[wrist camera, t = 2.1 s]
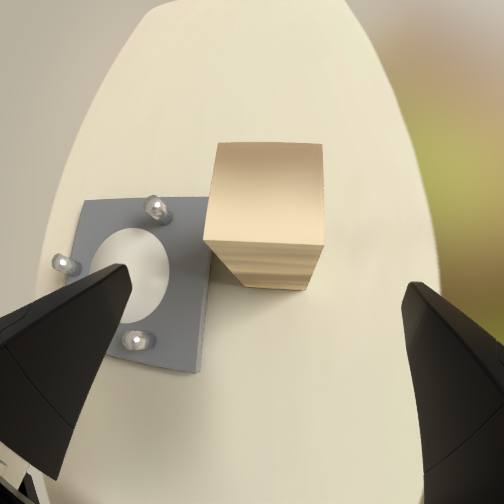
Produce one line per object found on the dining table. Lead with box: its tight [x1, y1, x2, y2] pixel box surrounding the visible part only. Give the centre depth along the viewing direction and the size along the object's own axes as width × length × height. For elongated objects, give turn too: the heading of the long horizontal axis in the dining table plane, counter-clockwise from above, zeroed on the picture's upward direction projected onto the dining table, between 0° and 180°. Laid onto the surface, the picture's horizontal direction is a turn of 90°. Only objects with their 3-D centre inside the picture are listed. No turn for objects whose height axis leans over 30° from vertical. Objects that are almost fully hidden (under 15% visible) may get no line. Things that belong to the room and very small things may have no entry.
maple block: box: [203, 142, 324, 290], centre depth 15 cm, size 4×4×10 cm
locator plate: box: [52, 195, 212, 373], centre depth 19 cm, size 12×12×4 cm
